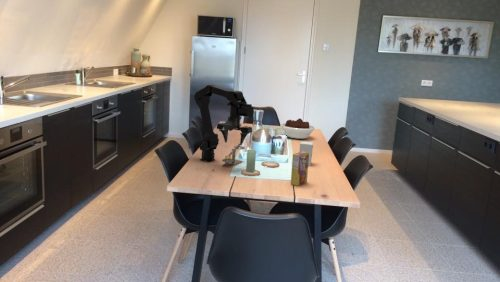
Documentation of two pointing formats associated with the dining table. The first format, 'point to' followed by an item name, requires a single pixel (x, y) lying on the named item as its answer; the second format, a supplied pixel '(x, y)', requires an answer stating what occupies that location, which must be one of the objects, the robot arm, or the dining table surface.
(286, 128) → the bowl with brown lumps
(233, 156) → the balance
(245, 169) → the dish
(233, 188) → the dining table surface
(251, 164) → the grey green cylinder
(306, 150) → the supplement box
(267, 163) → the dish
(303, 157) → the candy box
